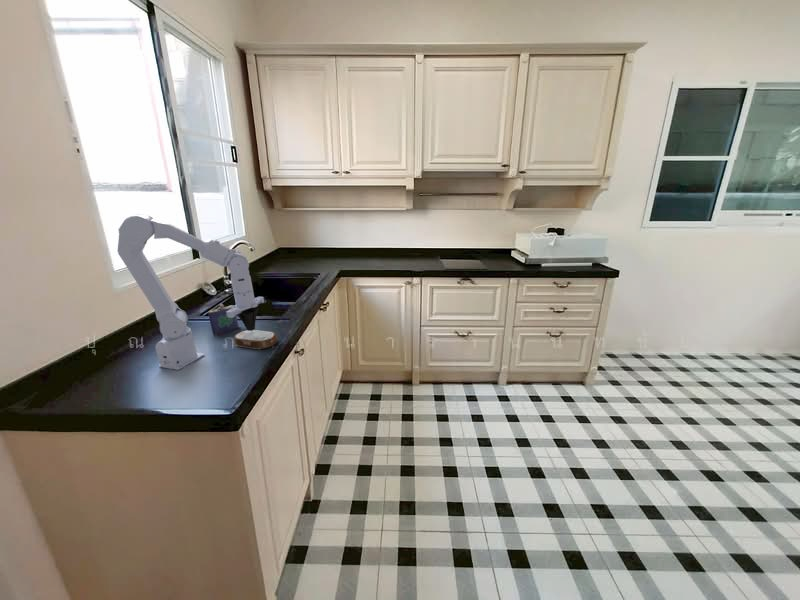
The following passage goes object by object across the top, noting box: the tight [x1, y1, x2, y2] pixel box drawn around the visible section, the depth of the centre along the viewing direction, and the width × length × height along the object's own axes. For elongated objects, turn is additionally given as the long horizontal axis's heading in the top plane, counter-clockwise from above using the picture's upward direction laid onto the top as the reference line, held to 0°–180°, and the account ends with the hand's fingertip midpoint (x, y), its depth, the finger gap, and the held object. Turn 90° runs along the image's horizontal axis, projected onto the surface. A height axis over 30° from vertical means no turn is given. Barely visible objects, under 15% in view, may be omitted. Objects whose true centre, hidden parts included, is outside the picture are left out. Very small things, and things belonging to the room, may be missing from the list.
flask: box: [207, 303, 240, 336], centre depth 123 cm, size 9×3×11 cm, turn 138°
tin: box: [233, 329, 278, 350], centre depth 114 cm, size 15×3×8 cm
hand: (250, 329), depth 111 cm, fingers closed
